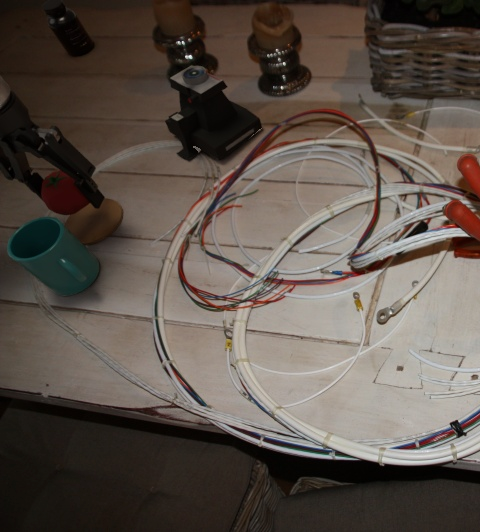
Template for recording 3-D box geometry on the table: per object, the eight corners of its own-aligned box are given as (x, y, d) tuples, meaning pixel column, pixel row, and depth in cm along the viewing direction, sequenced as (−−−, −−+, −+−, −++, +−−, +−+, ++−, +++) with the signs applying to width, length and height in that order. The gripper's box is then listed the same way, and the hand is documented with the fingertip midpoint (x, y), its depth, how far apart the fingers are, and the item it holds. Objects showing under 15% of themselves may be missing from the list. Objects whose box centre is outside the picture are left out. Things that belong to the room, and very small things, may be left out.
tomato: (60, 227, 96) (34, 200, 90) (51, 200, 100) (25, 172, 94) (104, 206, 98) (81, 179, 92) (93, 180, 102) (71, 152, 96)
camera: (246, 71, 103) (183, 111, 96) (263, 133, 115) (209, 172, 107) (192, 47, 110) (130, 82, 103) (214, 108, 121) (159, 143, 114)
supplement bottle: (62, 52, 138) (31, 7, 128) (83, 37, 141) (55, -7, 131) (78, 59, 135) (47, 14, 125) (99, 45, 138) (71, -1, 128)
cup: (79, 314, 92) (36, 278, 83) (40, 282, 97) (-5, 245, 87) (121, 276, 95) (84, 238, 86) (82, 247, 100) (43, 208, 91)
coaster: (55, 244, 101) (53, 242, 101) (80, 199, 107) (78, 197, 107) (110, 245, 100) (108, 243, 99) (131, 200, 106) (130, 198, 105)
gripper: (-90, 120, 80) (15, 218, 98) (40, 118, 77) (123, 219, 95) (-62, 87, 84) (34, 187, 102) (63, 84, 81) (138, 187, 100)
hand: (77, 202), depth 99 cm, fingers closed on tomato, 8 cm apart
